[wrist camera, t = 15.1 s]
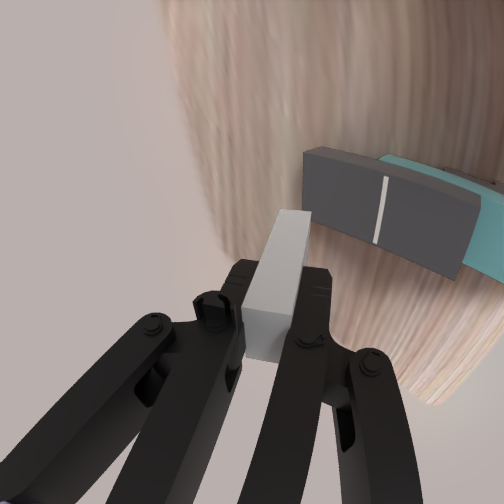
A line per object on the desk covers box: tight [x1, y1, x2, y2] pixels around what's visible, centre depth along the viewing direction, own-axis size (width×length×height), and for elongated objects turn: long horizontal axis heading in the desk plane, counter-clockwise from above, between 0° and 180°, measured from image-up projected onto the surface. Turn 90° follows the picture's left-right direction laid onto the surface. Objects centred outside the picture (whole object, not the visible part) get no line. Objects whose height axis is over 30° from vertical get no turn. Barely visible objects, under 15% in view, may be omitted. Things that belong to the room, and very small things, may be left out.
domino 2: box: [378, 154, 504, 284], centre depth 15 cm, size 5×2×12 cm
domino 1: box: [302, 147, 481, 281], centre depth 16 cm, size 5×2×12 cm
